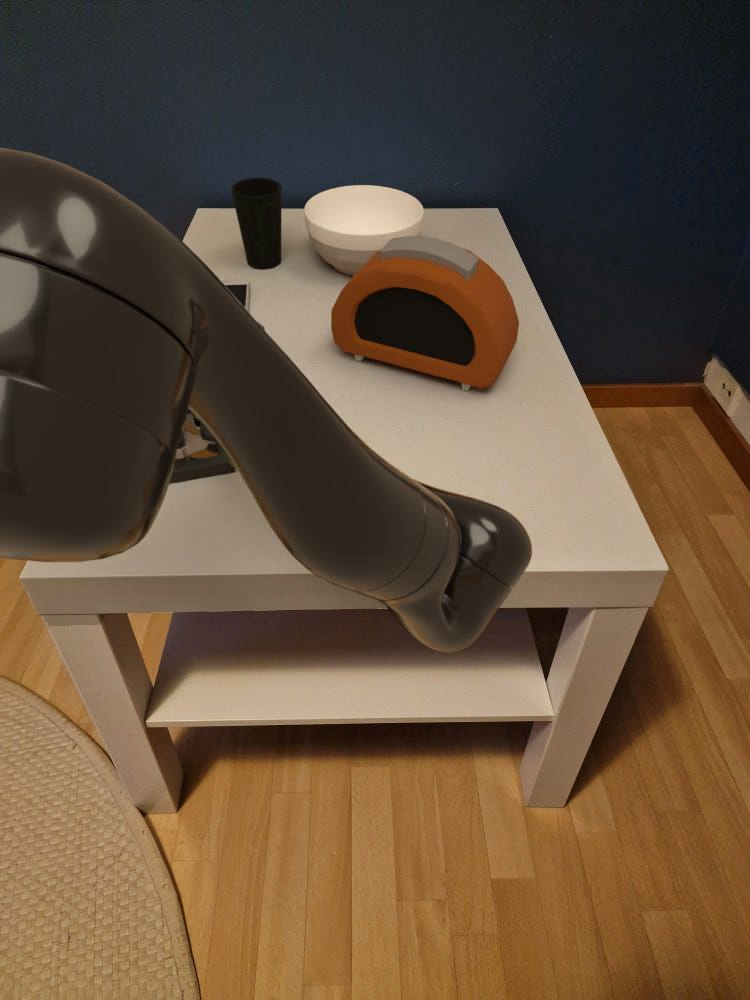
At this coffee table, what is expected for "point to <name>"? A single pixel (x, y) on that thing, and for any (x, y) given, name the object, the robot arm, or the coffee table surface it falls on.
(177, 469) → the push button panel
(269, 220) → the cup
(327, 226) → the bowl
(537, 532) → the coffee table surface
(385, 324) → the alarm clock
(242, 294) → the smartphone
